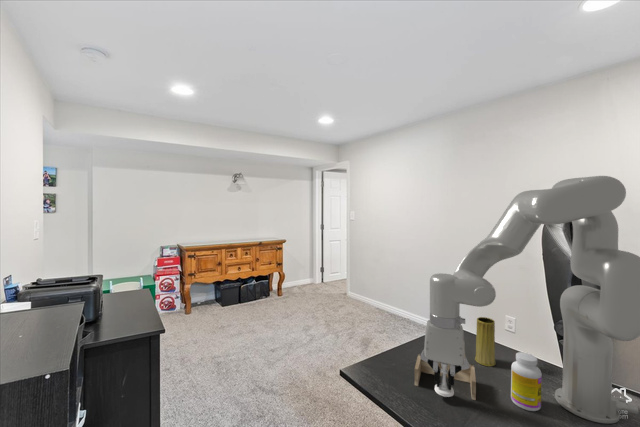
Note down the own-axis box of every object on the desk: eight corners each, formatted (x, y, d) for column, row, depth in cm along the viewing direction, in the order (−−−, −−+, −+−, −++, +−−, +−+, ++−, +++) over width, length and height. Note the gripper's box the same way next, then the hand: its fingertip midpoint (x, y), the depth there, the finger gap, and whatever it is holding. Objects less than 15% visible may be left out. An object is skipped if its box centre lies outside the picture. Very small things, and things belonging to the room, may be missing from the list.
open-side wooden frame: (473, 381, 88) (474, 365, 88) (475, 400, 80) (475, 382, 80) (418, 369, 95) (418, 354, 95) (414, 385, 87) (414, 368, 87)
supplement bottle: (542, 416, 74) (543, 366, 74) (511, 406, 78) (511, 358, 77) (539, 400, 80) (540, 354, 79) (510, 392, 83) (511, 348, 83)
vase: (495, 360, 100) (496, 318, 100) (495, 368, 95) (496, 325, 94) (475, 355, 103) (476, 315, 103) (474, 363, 98) (474, 321, 98)
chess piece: (455, 398, 78) (456, 361, 78) (436, 395, 79) (436, 359, 79) (451, 386, 83) (451, 351, 83) (433, 384, 84) (433, 350, 84)
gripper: (476, 319, 80) (476, 385, 81) (415, 310, 87) (415, 371, 88) (478, 330, 74) (477, 402, 74) (411, 320, 80) (411, 385, 81)
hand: (444, 385), depth 81 cm, fingers closed on chess piece
